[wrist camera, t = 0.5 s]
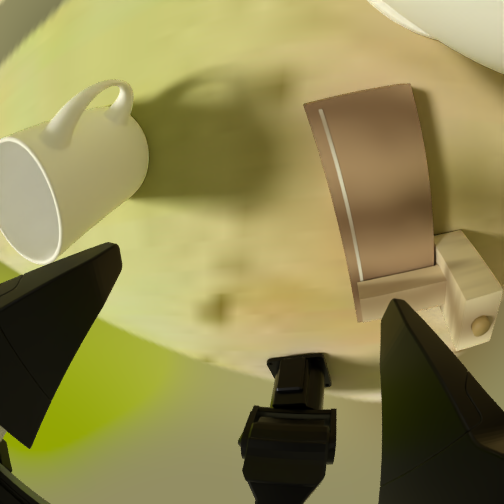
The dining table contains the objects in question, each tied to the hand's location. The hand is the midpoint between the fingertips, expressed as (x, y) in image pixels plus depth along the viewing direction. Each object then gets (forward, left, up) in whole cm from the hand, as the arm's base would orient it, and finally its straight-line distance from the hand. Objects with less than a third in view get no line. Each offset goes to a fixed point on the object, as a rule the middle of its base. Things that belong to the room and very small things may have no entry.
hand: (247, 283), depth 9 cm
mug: (+7, +12, -14) cm, 19 cm away
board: (-5, -6, -13) cm, 16 cm away
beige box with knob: (-11, -8, -13) cm, 19 cm away
